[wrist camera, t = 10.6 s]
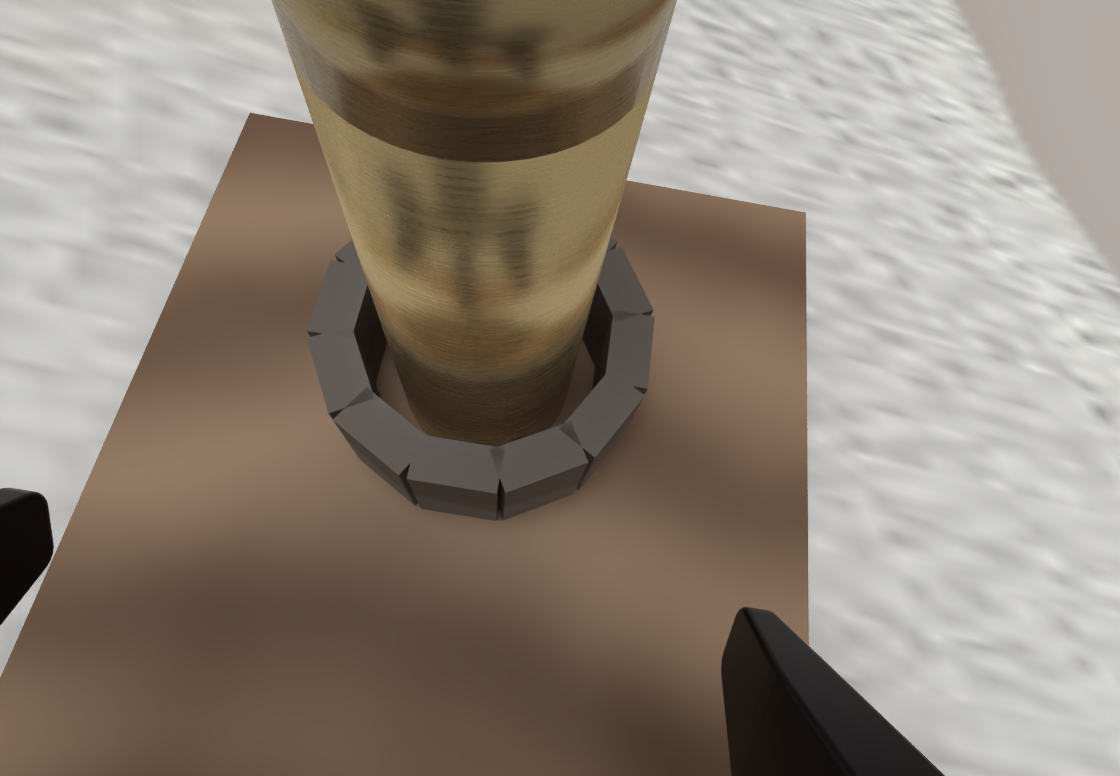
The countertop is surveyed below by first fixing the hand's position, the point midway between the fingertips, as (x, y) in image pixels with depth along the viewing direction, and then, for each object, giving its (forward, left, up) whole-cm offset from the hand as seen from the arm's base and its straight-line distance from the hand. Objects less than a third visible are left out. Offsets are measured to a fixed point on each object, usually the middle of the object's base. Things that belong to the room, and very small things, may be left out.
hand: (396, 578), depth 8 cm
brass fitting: (+3, -5, -8) cm, 10 cm away
